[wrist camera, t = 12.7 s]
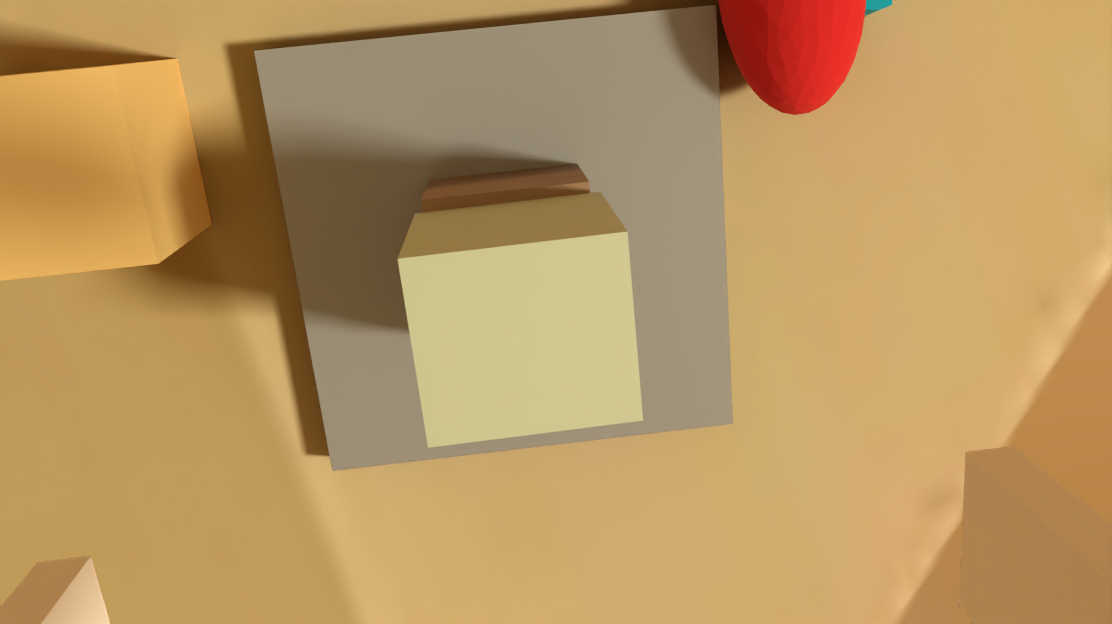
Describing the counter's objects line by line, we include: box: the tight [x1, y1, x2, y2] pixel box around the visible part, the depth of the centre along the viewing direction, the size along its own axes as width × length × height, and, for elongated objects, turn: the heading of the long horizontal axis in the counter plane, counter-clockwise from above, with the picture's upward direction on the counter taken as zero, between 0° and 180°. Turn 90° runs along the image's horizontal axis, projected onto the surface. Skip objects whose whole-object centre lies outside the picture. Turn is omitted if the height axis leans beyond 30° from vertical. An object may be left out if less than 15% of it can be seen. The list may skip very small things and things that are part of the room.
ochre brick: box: [0, 59, 212, 281], centre depth 31 cm, size 6×6×6 cm
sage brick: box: [398, 192, 643, 448], centre depth 28 cm, size 5×6×6 cm
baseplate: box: [254, 5, 733, 471], centre depth 35 cm, size 16×16×1 cm
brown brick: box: [421, 164, 590, 213], centre depth 32 cm, size 6×5×4 cm
